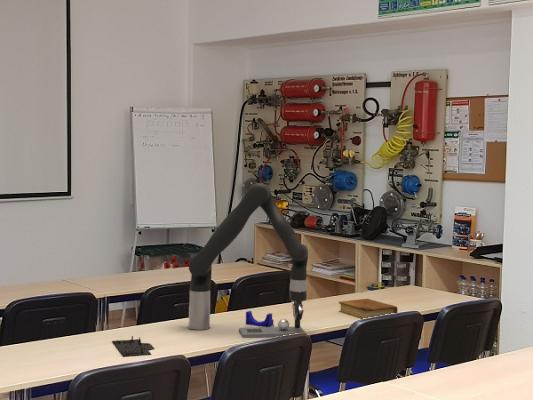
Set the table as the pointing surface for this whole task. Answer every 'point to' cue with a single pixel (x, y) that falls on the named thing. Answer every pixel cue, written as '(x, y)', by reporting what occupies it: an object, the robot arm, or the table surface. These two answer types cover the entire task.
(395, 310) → the diary
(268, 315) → the cable clip
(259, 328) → the pocket slab
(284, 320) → the steel ball
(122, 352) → the circuit board
